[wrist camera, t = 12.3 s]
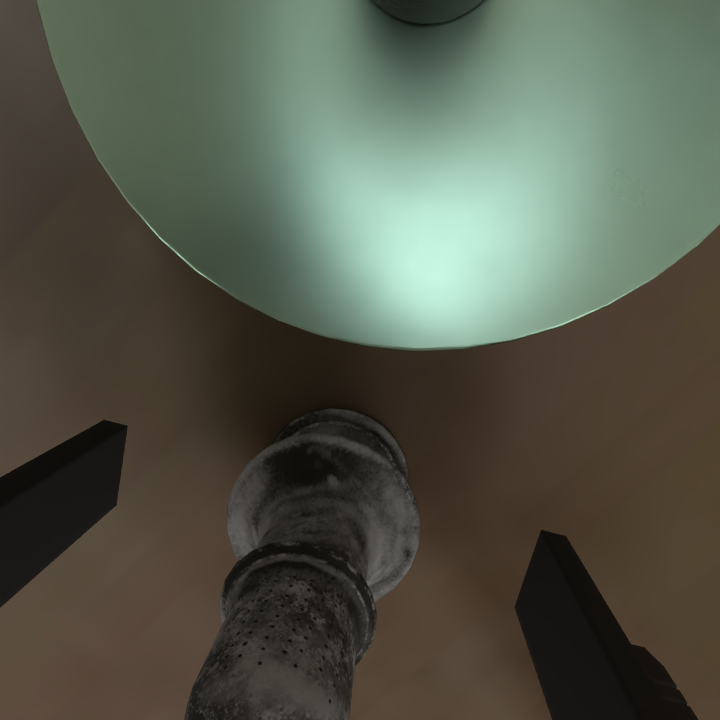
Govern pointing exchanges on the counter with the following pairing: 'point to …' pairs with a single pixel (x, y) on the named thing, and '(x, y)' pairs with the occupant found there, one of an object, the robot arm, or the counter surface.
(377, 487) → the dark grey tall piece
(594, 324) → the counter surface
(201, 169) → the pot lid
